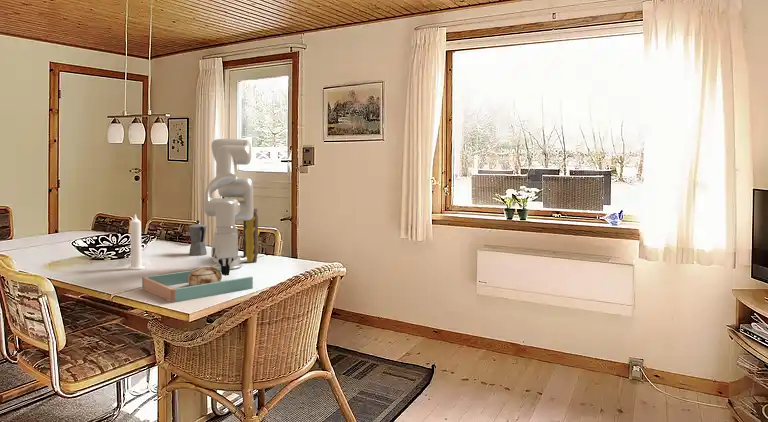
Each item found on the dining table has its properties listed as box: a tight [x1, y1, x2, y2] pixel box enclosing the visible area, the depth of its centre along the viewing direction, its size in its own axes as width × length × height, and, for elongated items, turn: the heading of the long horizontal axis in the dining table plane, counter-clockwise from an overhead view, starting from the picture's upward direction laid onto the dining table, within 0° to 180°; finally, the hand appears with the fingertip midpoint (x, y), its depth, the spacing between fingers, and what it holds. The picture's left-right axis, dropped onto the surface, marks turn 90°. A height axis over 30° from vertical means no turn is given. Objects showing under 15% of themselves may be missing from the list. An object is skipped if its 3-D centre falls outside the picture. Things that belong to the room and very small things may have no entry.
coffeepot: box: [188, 220, 208, 257], centre depth 287 cm, size 15×9×18 cm, turn 37°
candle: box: [127, 213, 146, 271], centre depth 249 cm, size 7×7×25 cm
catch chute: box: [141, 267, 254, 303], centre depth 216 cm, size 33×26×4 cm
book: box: [242, 208, 260, 264], centre depth 279 cm, size 22×8×25 cm, turn 12°
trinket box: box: [187, 265, 223, 286], centre depth 221 cm, size 13×15×8 cm
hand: (225, 274), depth 224 cm, fingers closed
